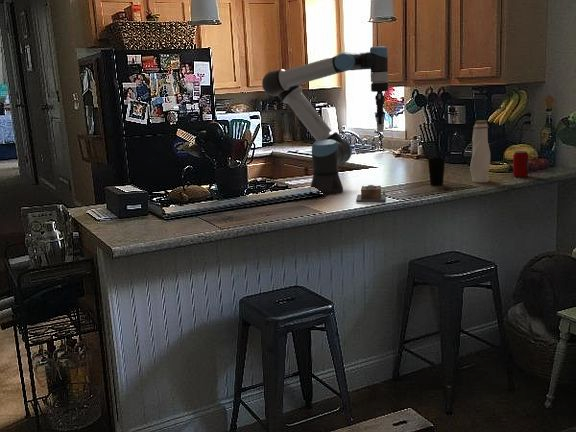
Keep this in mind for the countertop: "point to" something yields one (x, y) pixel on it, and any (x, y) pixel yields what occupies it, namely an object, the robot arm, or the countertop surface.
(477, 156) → the water bottle
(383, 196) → the post base
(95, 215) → the countertop surface
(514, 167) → the beverage can
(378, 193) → the collar
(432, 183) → the cup
